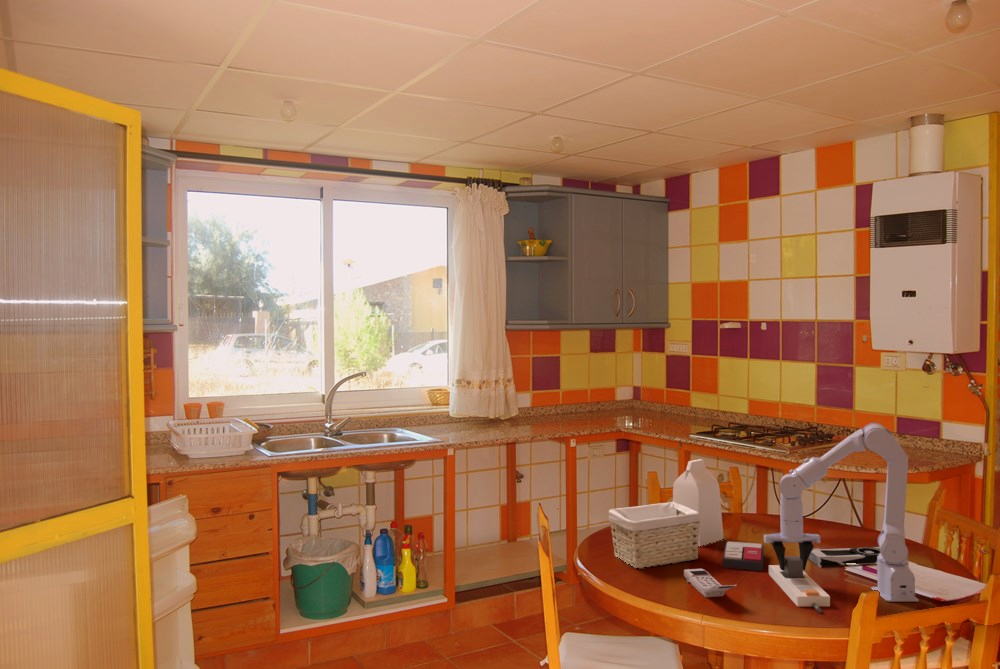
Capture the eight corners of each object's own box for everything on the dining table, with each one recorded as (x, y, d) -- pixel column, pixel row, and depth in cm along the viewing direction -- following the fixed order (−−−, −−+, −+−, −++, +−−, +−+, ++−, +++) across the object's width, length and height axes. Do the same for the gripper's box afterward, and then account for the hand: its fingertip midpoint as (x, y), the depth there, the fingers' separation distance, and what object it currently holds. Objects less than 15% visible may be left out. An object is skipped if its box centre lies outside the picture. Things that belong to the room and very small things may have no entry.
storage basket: (632, 571, 218) (631, 521, 218) (607, 555, 234) (606, 508, 233) (703, 561, 226) (702, 512, 226) (674, 546, 241) (673, 500, 241)
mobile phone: (715, 586, 189) (679, 555, 214) (715, 609, 189) (679, 575, 214) (738, 585, 190) (699, 554, 215) (738, 608, 190) (699, 574, 215)
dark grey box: (722, 556, 219) (725, 539, 234) (722, 570, 220) (726, 552, 234) (762, 559, 216) (763, 542, 230) (762, 574, 216) (763, 555, 230)
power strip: (837, 613, 184) (836, 600, 184) (803, 613, 185) (803, 600, 185) (797, 573, 213) (797, 562, 213) (768, 574, 213) (768, 562, 213)
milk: (699, 546, 240) (698, 465, 239) (671, 538, 249) (670, 460, 248) (723, 539, 247) (722, 460, 246) (695, 532, 256) (694, 455, 256)
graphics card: (802, 548, 227) (882, 544, 228) (802, 559, 227) (882, 555, 229) (818, 558, 217) (902, 554, 218) (818, 570, 217) (902, 566, 219)
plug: (802, 586, 203) (803, 560, 203) (787, 586, 203) (787, 560, 203) (796, 580, 208) (796, 555, 208) (781, 580, 208) (782, 555, 208)
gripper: (813, 515, 208) (814, 563, 209) (760, 515, 209) (760, 564, 209) (823, 521, 201) (823, 572, 201) (767, 522, 202) (768, 572, 202)
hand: (792, 568), depth 205 cm, fingers open, 5 cm apart
